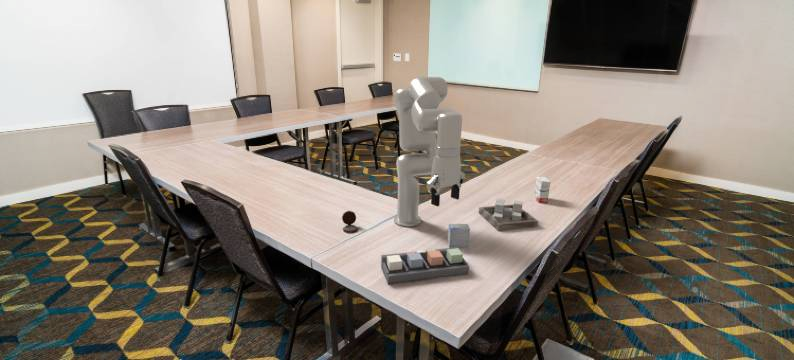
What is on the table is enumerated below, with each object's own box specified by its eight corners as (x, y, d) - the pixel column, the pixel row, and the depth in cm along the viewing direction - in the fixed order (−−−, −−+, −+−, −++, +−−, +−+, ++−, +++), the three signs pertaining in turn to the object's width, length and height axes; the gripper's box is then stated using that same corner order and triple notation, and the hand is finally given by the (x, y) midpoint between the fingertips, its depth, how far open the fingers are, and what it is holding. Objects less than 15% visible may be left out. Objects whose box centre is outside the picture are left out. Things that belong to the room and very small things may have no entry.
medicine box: (466, 242, 165) (468, 223, 162) (468, 247, 161) (470, 228, 158) (447, 242, 165) (448, 223, 162) (448, 247, 161) (450, 228, 158)
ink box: (547, 203, 208) (551, 181, 204) (538, 202, 208) (541, 181, 204) (542, 197, 216) (545, 176, 212) (533, 196, 216) (536, 176, 212)
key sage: (446, 257, 147) (446, 249, 146) (457, 255, 149) (458, 248, 147) (450, 263, 143) (451, 255, 142) (462, 262, 144) (462, 254, 143)
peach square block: (427, 259, 146) (427, 251, 145) (438, 258, 147) (438, 250, 146) (430, 265, 142) (431, 257, 141) (442, 264, 143) (443, 256, 142)
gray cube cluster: (492, 223, 183) (494, 207, 181) (494, 213, 194) (496, 198, 192) (520, 227, 180) (522, 211, 177) (520, 216, 191) (522, 201, 188)
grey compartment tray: (381, 267, 146) (381, 254, 144) (456, 258, 153) (457, 246, 151) (387, 284, 136) (388, 270, 134) (468, 274, 143) (469, 261, 141)
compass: (344, 234, 170) (343, 218, 168) (342, 225, 177) (341, 210, 175) (362, 232, 172) (362, 217, 170) (360, 224, 179) (360, 209, 177)
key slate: (407, 261, 144) (407, 253, 143) (418, 260, 145) (419, 252, 144) (410, 268, 140) (410, 260, 139) (422, 266, 141) (422, 258, 140)
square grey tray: (478, 213, 194) (479, 207, 193) (515, 209, 198) (515, 204, 197) (497, 231, 176) (498, 224, 175) (537, 227, 181) (538, 220, 180)
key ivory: (386, 264, 142) (386, 256, 141) (398, 262, 143) (399, 254, 142) (389, 270, 138) (389, 262, 137) (401, 269, 139) (402, 261, 138)
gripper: (456, 145, 136) (453, 193, 141) (420, 153, 125) (418, 204, 130) (474, 149, 131) (470, 199, 136) (438, 158, 120) (435, 211, 125)
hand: (445, 201), depth 133 cm, fingers open, 9 cm apart
